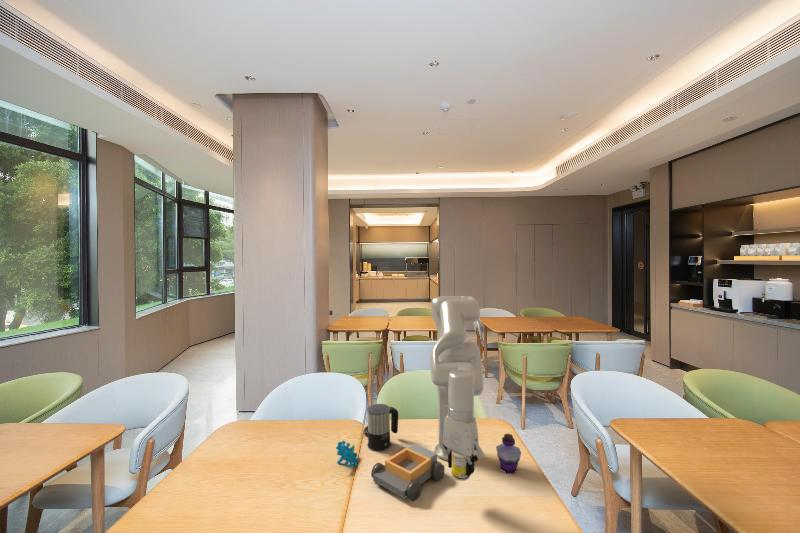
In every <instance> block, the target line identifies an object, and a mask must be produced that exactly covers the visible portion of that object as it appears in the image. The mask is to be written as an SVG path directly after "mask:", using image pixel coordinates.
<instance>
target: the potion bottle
mask: <svg viewBox="0 0 800 533" xmlns="http://www.w3.org/2000/svg"><path fill="white" fill-rule="evenodd" d="M496 452H497V453H496V455H497V458H498V460H499V464H500V467H501V468H500V470H501V469H502V470H503V471H505V472H506V473H505V472H504V473H505V474H508V473H513V472H515V471H517V468H518V465H519V462H520V459H521V455H522V450H521V449H520V447H518V446H516V440H515V437H514V435H513V434H512V433H505V434H503V437H501V443H500V444H499V445H497V446H496ZM503 471H502V472H503ZM515 473H516V472H515ZM513 474H514V473H513Z"/></svg>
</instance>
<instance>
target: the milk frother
mask: <svg viewBox="0 0 800 533" xmlns="http://www.w3.org/2000/svg"><path fill="white" fill-rule="evenodd" d="M366 411H367V426H365V428H364V429H363V435H365V436H366V437H367V447H368V449H369V450H371V451H375V452H380V451H381V452H383V451H385V450H388V449H389V448H390V447H391V445H392V444H391V432H392V433H394V434H397V433H398V429H399V411H398V410H397V409H396V408H395V407H392V406H390V405H387V404H384V403H375V404H371V405H369V406H368V407H367V408H366ZM390 414H391V416H390ZM390 417H391V418H390ZM390 422H391V423H390Z"/></svg>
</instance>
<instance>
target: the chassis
mask: <svg viewBox="0 0 800 533" xmlns="http://www.w3.org/2000/svg"><path fill="white" fill-rule="evenodd" d="M445 471H446V470H445V465H444V464H443V463H442V462H440V461H438V456H437V453H435V451H434V450H433V451H432V450H431V449H427V448H425V447H423V446H421V445H419V444H416V443H413V444H412V445H410V446H408V447H404V446H403V447H401V448H400V449H399V451H398V452H397V453H395V454H394V455H392V456H390V457H389V458H387V459H386V460H385V461H384V464H383V463H381V462H377V463H375V464H374V465H373V466H372V468H371V478H372V479H373V480H372V481H373V482H374V483H376V484H378V485H380V486H382V487H384V488H385V489H387V490H389V491H391V492H392V493H394V494H396V495H397V496H399V497H401V498H403V499H404V498H407V499H409V500H411V501H412V502H415V501H417V500H418V498H419V497H420V495H421V491H422V486H421V485H422V484H423V483H425V482H426V481H428V480H429V479H430V478H432V479H433V480H435V481H438V482H441V480H442V478H443V477H444V476H445Z"/></svg>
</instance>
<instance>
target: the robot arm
mask: <svg viewBox="0 0 800 533" xmlns="http://www.w3.org/2000/svg"><path fill="white" fill-rule="evenodd" d="M430 312H431V317H432V320H433V323H434V324H435V325H434V326H435V327H436V331H437V340H436V341H435V343H434V345H433V346H432V348H431V352H430V357H429V358H430V360H429V361H430V377H431V382H432V383H433V385H435V386H436V392H437V398H438V443H437V444H436V445H435V446H434V452H435V453H437V458H439V459H441V460H443V461H447V463H448V466H447V467H448V468H449V469H452V450H454V451H456V452H458V453H461V454H463V455H465V456H466V457H467V460H468V463H467V464H466V475H467V476H468V477H469V476H470V477H471V475H472V474H474V473H475V463H476V462H477V461H478V460H479V461H480V460H481V459H482V458H483V457H484V456H485V453H484V451H483V449H482V448H481V447H480V444H479V432H478V430H479V429H478V425H477V419H476V418H475V416H474V414H475V397H478V396H480V395H482V394H483V391H484V376H483V366H482V357H481V350H480V347H479V345H478V343H476V342H474V341H468V340H467V341H466V338H467V330H466V323H476V322H478V321H479V320H480V316H481V309H480V305H479V302H478V300H477V299H476V298H474V297H473V296H471V295H459V296H458V295H442V296H437V297H434V298H432V300H431V301H430ZM470 477H469V478H470Z"/></svg>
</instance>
